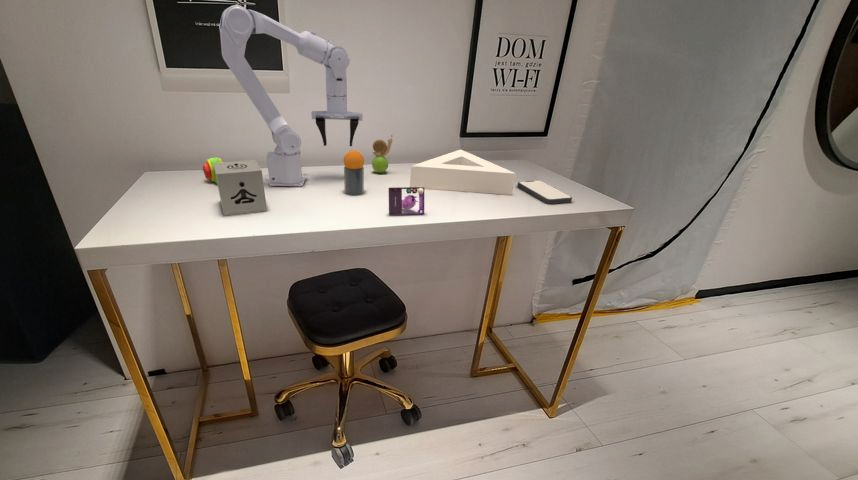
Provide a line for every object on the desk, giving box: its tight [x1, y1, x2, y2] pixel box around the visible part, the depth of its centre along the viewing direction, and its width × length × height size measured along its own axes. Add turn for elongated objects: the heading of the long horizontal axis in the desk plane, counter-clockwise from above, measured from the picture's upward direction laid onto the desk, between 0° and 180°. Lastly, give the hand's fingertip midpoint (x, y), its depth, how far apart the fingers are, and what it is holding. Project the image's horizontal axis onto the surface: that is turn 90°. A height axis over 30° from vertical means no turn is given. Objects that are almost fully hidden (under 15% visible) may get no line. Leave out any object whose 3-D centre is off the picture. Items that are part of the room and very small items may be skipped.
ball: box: [343, 149, 365, 170], centre depth 107 cm, size 6×6×6 cm
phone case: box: [516, 179, 573, 205], centre depth 116 cm, size 9×2×16 cm
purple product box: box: [388, 186, 425, 216], centre depth 99 cm, size 7×5×9 cm
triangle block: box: [409, 149, 517, 196], centre depth 120 cm, size 30×26×6 cm
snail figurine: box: [371, 134, 393, 174], centre depth 126 cm, size 5×6×12 cm
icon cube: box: [213, 159, 268, 217], centre depth 96 cm, size 10×10×10 cm
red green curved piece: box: [202, 157, 223, 186], centre depth 116 cm, size 6×19×7 cm, turn 33°
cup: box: [343, 166, 365, 196], centre depth 110 cm, size 5×5×7 cm
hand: (338, 145), depth 117 cm, fingers open, 7 cm apart
